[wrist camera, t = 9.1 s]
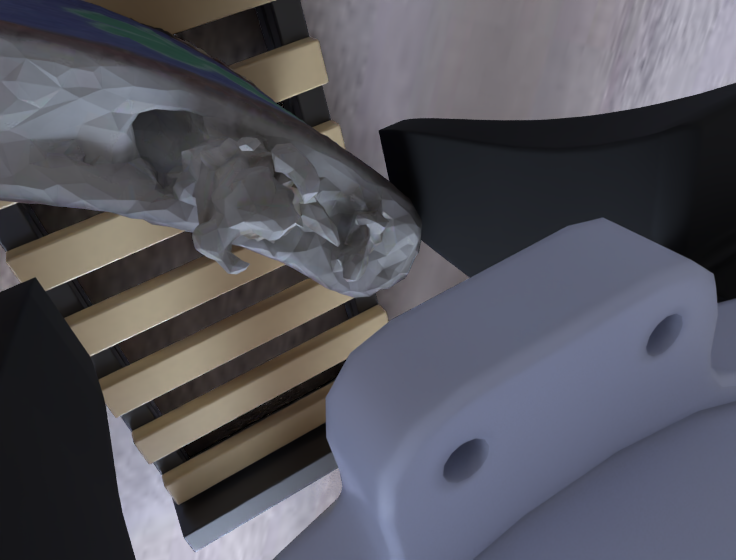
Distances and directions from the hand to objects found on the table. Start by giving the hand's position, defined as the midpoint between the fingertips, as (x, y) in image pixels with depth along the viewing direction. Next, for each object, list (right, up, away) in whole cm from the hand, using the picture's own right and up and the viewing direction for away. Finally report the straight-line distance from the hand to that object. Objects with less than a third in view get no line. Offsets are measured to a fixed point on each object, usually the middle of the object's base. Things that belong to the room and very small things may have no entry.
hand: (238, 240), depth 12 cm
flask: (-4, +5, +5) cm, 8 cm away
